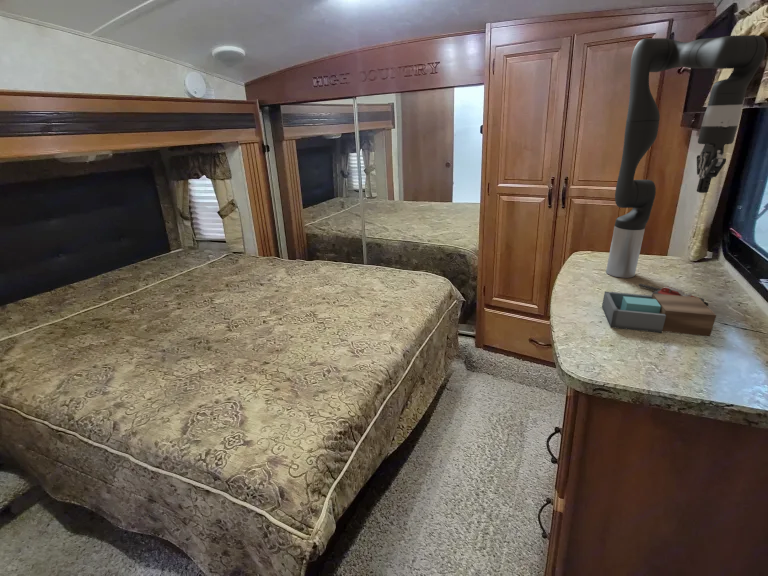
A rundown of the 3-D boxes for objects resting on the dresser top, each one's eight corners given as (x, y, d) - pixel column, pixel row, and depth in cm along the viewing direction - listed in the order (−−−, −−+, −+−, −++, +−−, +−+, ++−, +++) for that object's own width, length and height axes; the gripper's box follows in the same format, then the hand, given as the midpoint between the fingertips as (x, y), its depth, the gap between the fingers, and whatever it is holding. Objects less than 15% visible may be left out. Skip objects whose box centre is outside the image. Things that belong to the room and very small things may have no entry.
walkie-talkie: (710, 306, 122) (639, 287, 138) (714, 293, 121) (642, 275, 136) (698, 314, 118) (626, 293, 133) (702, 300, 116) (629, 281, 131)
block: (651, 315, 115) (619, 312, 117) (655, 299, 113) (623, 296, 115) (656, 323, 110) (623, 319, 113) (661, 306, 109) (627, 303, 111)
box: (601, 306, 123) (604, 291, 121) (647, 311, 119) (651, 295, 118) (610, 327, 111) (613, 310, 109) (661, 333, 107) (666, 315, 105)
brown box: (648, 312, 119) (652, 293, 116) (692, 316, 115) (698, 297, 113) (660, 331, 108) (665, 310, 106) (709, 336, 105) (716, 315, 103)
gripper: (693, 124, 113) (678, 188, 120) (712, 125, 102) (694, 195, 108) (725, 124, 111) (708, 189, 117) (749, 124, 99) (728, 196, 106)
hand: (701, 192), depth 113 cm, fingers closed
